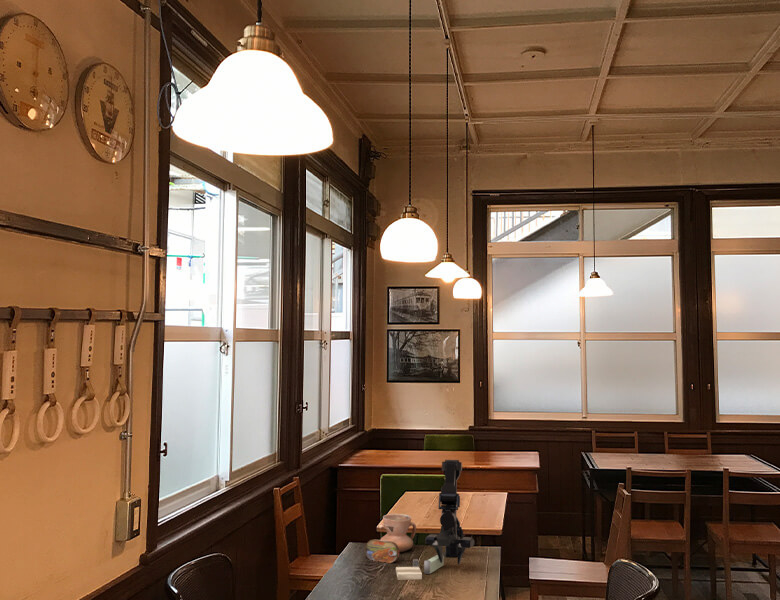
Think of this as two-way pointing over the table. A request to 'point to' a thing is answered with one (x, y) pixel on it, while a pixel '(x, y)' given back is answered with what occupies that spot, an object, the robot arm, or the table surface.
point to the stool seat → (408, 573)
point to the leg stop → (415, 563)
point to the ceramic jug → (398, 530)
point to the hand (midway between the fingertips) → (450, 563)
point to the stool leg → (432, 564)
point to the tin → (382, 551)
